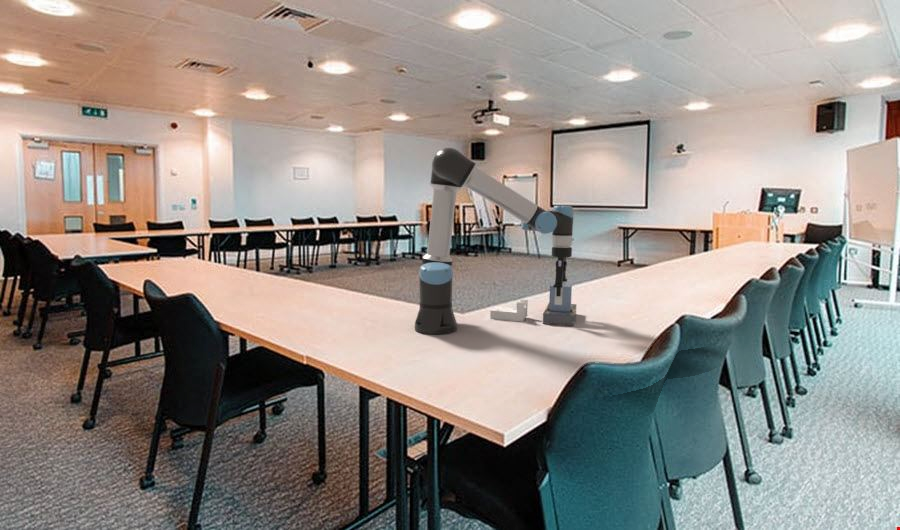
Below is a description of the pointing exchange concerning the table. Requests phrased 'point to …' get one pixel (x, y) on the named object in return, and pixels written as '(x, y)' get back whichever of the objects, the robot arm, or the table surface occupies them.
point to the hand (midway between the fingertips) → (559, 301)
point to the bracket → (511, 312)
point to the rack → (559, 316)
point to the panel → (565, 299)
